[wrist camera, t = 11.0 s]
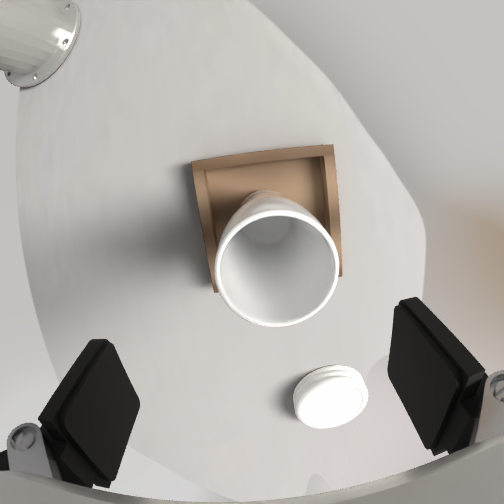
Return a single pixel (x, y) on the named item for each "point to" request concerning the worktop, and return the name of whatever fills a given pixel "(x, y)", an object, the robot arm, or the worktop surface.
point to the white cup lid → (330, 396)
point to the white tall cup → (275, 261)
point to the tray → (267, 188)
